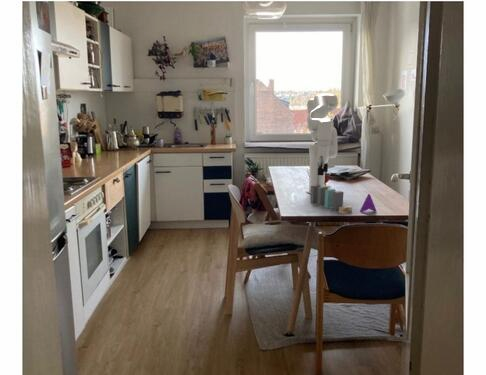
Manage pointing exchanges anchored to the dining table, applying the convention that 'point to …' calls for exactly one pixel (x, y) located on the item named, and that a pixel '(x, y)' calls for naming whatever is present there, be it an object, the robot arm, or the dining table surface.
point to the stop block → (345, 209)
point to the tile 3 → (337, 200)
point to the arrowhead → (368, 204)
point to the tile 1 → (314, 193)
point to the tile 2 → (321, 195)
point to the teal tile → (329, 197)
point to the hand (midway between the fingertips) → (322, 173)
